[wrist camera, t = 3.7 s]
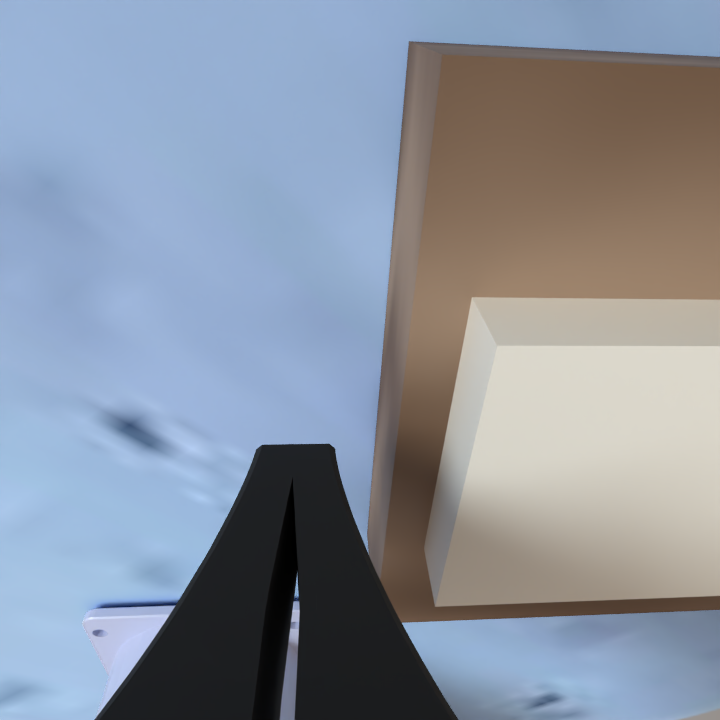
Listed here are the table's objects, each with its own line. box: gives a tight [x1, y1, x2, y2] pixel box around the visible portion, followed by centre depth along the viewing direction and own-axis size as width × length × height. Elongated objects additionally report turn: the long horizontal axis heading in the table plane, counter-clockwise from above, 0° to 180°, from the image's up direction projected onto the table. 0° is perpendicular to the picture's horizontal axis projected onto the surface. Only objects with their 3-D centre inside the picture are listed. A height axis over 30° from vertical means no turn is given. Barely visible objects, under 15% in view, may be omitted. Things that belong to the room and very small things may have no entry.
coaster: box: [424, 297, 720, 607], centre depth 10 cm, size 7×7×2 cm
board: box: [367, 42, 720, 623], centre depth 12 cm, size 14×12×3 cm
